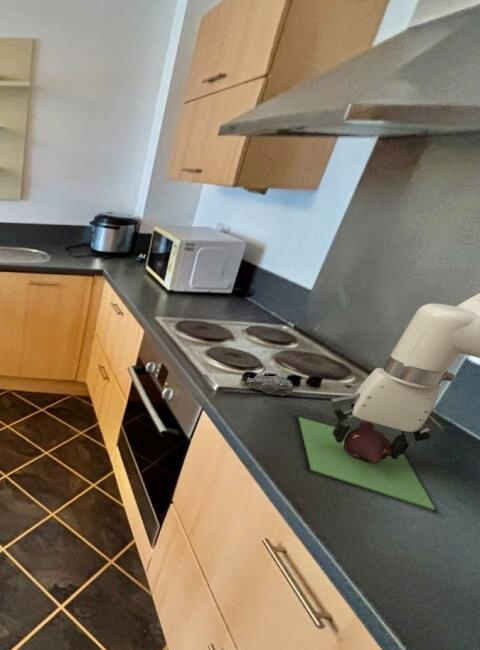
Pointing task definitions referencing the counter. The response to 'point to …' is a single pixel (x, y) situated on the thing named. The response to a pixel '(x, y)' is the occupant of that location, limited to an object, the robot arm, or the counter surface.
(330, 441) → the cloth
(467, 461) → the counter surface
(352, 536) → the counter surface
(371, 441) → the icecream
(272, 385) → the rock
